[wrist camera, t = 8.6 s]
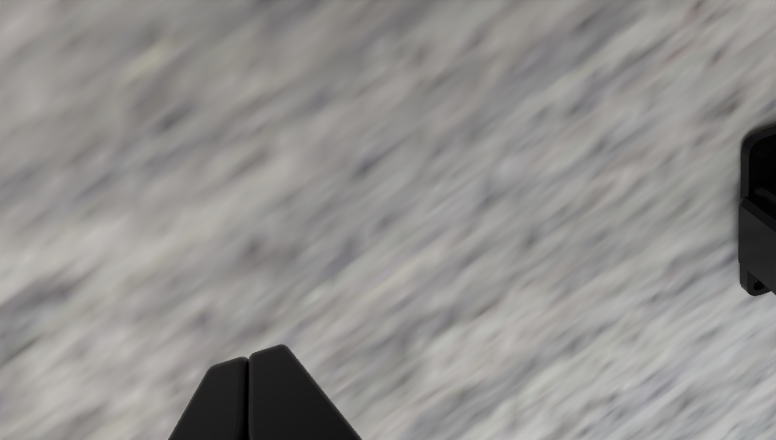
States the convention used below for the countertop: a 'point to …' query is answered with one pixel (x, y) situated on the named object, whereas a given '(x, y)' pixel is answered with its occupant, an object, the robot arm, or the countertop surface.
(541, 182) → the countertop surface
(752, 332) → the countertop surface
